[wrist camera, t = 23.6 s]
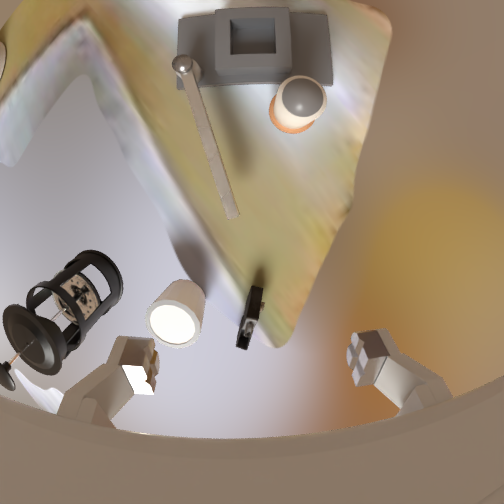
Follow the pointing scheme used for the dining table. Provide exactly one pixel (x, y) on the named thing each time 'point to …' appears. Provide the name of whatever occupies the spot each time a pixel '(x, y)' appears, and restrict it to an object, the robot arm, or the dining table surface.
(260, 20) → the socket block
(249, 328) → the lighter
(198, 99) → the ball-tipped lever
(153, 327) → the white cup
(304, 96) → the plug
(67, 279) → the french press
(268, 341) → the dining table surface
